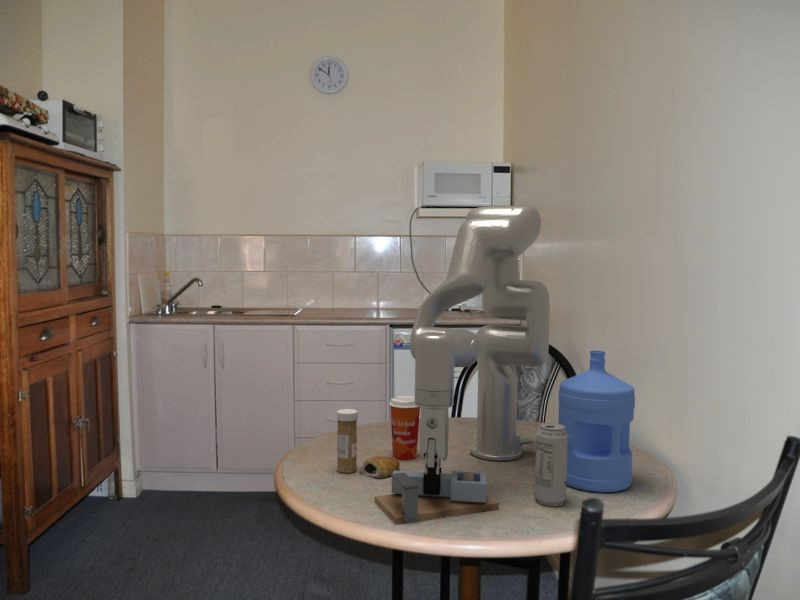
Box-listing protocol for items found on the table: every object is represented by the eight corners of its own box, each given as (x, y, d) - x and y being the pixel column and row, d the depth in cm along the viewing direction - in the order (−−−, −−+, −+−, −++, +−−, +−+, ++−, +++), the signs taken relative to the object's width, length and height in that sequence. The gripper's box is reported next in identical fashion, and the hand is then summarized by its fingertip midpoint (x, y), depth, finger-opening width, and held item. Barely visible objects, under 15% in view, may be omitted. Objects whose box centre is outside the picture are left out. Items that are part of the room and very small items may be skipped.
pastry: (383, 464, 147) (384, 448, 147) (407, 470, 143) (407, 453, 143) (357, 475, 139) (357, 457, 139) (381, 481, 135) (381, 464, 135)
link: (485, 490, 126) (485, 472, 125) (485, 502, 119) (486, 484, 119) (394, 484, 128) (394, 467, 128) (390, 496, 121) (390, 478, 121)
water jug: (541, 473, 142) (545, 348, 140) (599, 466, 147) (603, 345, 146) (585, 497, 127) (590, 358, 126) (648, 489, 133) (653, 355, 131)
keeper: (403, 507, 120) (404, 472, 120) (417, 521, 114) (418, 483, 114) (391, 509, 120) (391, 473, 119) (404, 523, 113) (405, 485, 113)
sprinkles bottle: (360, 471, 141) (361, 411, 140) (342, 475, 139) (343, 413, 138) (350, 465, 145) (351, 407, 144) (332, 469, 142) (333, 409, 142)
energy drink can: (571, 505, 123) (574, 429, 122) (543, 508, 121) (546, 430, 120) (555, 494, 129) (557, 421, 128) (528, 497, 127) (530, 423, 126)
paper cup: (383, 459, 150) (384, 400, 149) (395, 450, 157) (396, 394, 156) (414, 463, 147) (415, 403, 146) (425, 454, 154) (426, 397, 154)
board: (471, 489, 131) (471, 460, 130) (498, 509, 121) (499, 477, 120) (374, 502, 123) (375, 471, 123) (395, 524, 113) (395, 491, 112)
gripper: (452, 407, 114) (450, 508, 115) (455, 389, 130) (453, 477, 131) (410, 405, 115) (408, 505, 116) (418, 388, 131) (416, 475, 132)
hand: (432, 490), depth 124 cm, fingers closed on link, 3 cm apart
